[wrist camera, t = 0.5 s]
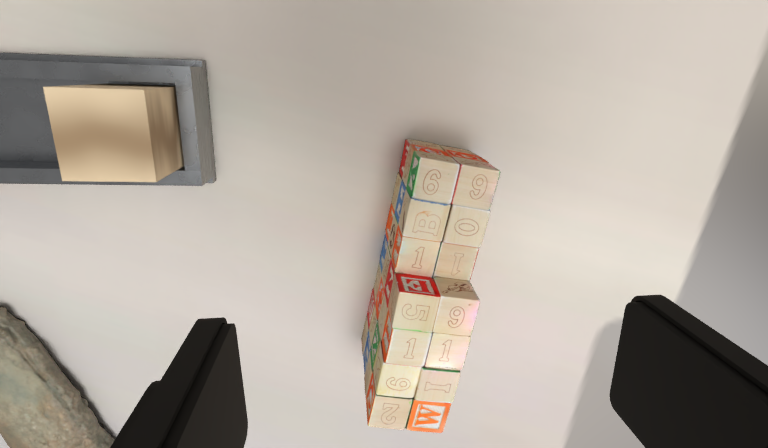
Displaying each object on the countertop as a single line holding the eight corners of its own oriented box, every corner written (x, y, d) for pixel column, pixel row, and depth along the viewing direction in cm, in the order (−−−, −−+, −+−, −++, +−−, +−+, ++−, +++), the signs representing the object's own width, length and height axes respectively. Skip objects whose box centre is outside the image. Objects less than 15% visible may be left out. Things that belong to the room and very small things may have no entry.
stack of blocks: (403, 136, 40) (428, 163, 28) (469, 149, 41) (520, 180, 29) (360, 339, 46) (366, 429, 35) (418, 346, 47) (443, 436, 36)
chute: (-148, 47, 34) (-210, 44, 30) (205, 60, 36) (189, 59, 32) (-106, 176, 37) (-156, 188, 33) (216, 180, 39) (202, 191, 36)
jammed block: (107, 83, 35) (42, 86, 28) (186, 86, 36) (144, 89, 28) (119, 158, 37) (62, 181, 29) (193, 160, 38) (156, 182, 30)
